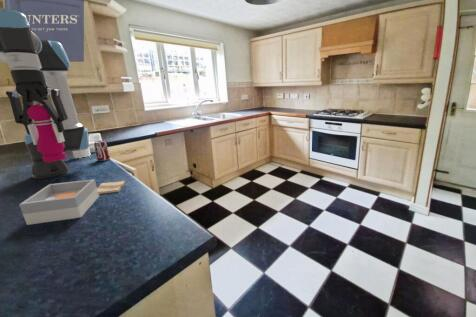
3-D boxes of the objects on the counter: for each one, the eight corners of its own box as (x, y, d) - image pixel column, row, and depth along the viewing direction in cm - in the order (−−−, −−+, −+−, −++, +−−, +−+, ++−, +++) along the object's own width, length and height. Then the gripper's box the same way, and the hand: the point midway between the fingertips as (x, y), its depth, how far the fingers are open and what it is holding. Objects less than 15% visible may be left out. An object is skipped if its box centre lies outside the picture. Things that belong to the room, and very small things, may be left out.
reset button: (62, 205, 83) (58, 194, 82) (79, 203, 84) (76, 192, 83) (52, 213, 78) (49, 202, 76) (71, 211, 79) (68, 199, 77)
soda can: (96, 160, 139) (91, 141, 136) (108, 157, 144) (104, 139, 140) (99, 162, 135) (94, 143, 131) (111, 159, 139) (107, 141, 136)
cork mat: (102, 185, 101) (101, 183, 100) (125, 182, 102) (125, 180, 102) (93, 194, 91) (92, 192, 91) (119, 191, 93) (118, 189, 93)
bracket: (87, 158, 146) (82, 140, 142) (72, 159, 145) (66, 141, 142) (106, 148, 170) (103, 132, 166) (94, 149, 169) (90, 133, 166)
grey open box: (55, 201, 87) (49, 184, 85) (99, 196, 90) (94, 179, 88) (27, 224, 72) (19, 204, 70) (81, 217, 75) (75, 197, 73)
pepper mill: (62, 155, 81) (44, 99, 75) (72, 157, 78) (54, 98, 71) (38, 161, 75) (16, 100, 69) (47, 163, 72) (25, 100, 66)
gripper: (-23, 69, 62) (7, 148, 69) (54, 67, 66) (76, 142, 73) (-1, 71, 69) (24, 142, 76) (68, 69, 73) (86, 138, 80)
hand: (49, 142), depth 75 cm, fingers closed on pepper mill, 6 cm apart
